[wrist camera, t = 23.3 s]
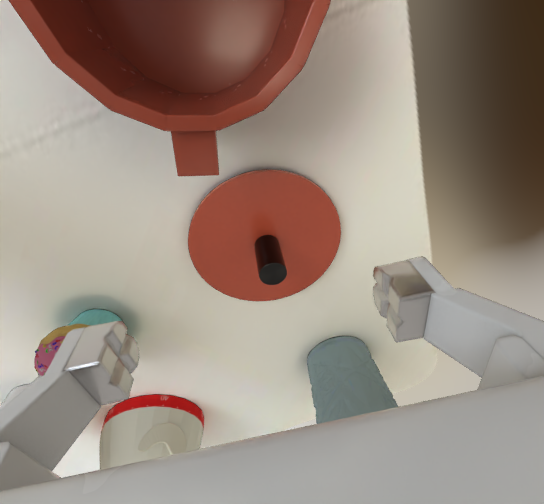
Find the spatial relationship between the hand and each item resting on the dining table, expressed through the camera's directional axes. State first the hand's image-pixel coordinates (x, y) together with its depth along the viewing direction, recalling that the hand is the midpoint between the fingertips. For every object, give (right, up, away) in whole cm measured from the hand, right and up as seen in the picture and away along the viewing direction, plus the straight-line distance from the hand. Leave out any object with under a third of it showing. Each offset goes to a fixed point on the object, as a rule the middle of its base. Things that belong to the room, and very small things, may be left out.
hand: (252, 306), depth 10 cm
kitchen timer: (-17, -23, +36) cm, 46 cm away
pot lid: (0, +3, +20) cm, 20 cm away
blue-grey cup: (+9, -13, +33) cm, 37 cm away
